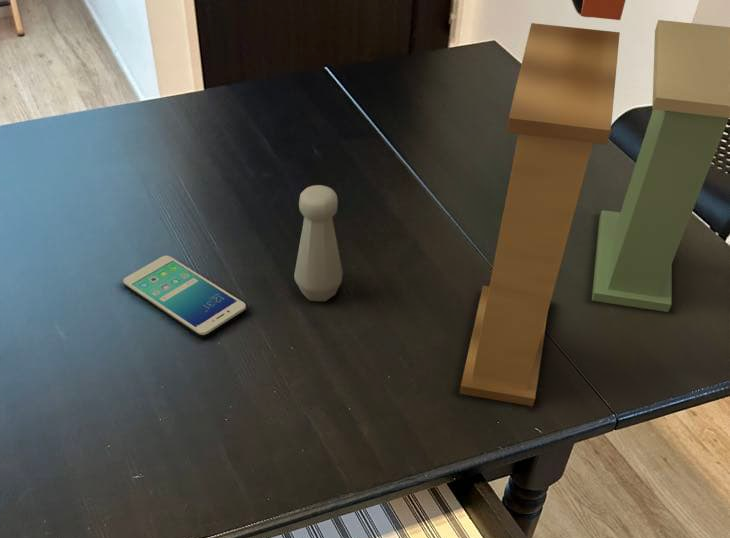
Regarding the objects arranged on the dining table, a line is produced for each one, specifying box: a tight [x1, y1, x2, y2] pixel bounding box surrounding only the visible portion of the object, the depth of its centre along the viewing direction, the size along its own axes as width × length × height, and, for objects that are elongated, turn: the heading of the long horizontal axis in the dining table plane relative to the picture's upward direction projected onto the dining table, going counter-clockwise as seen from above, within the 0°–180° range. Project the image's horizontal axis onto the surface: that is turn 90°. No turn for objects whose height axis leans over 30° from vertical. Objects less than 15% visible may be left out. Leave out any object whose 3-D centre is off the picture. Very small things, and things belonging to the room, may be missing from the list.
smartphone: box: [122, 255, 247, 339], centre depth 99 cm, size 8×1×15 cm
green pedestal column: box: [591, 19, 730, 313], centre depth 94 cm, size 18×9×24 cm, turn 166°
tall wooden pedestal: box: [459, 22, 621, 407], centre depth 82 cm, size 18×8×30 cm, turn 166°
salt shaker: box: [293, 184, 343, 302], centre depth 95 cm, size 6×6×13 cm
